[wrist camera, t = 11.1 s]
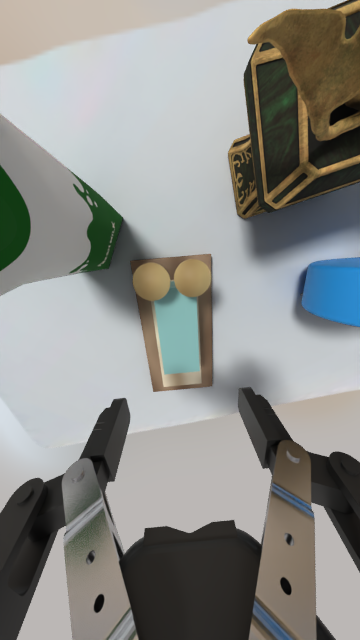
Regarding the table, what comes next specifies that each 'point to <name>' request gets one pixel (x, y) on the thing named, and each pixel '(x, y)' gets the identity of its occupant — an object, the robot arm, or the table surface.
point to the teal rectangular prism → (178, 331)
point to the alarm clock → (334, 290)
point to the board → (149, 287)
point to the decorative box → (300, 110)
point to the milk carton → (48, 216)
